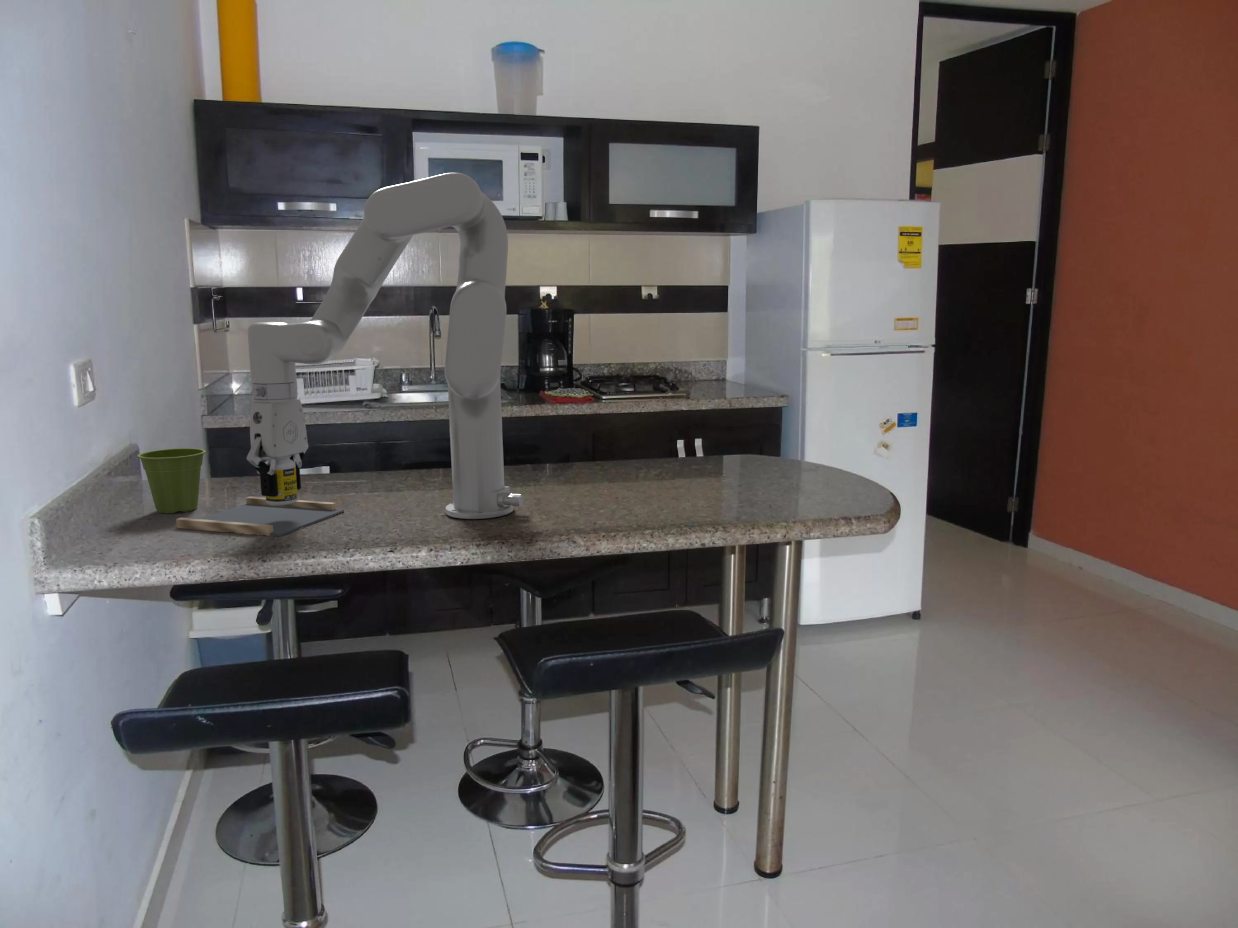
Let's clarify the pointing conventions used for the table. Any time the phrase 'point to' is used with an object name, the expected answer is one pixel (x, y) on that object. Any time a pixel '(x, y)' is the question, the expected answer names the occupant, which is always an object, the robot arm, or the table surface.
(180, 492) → the plant pot
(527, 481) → the table surface
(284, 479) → the supplement bottle
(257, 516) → the mat
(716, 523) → the table surface
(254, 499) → the strip right
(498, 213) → the robot arm
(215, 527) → the strip left
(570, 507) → the table surface
